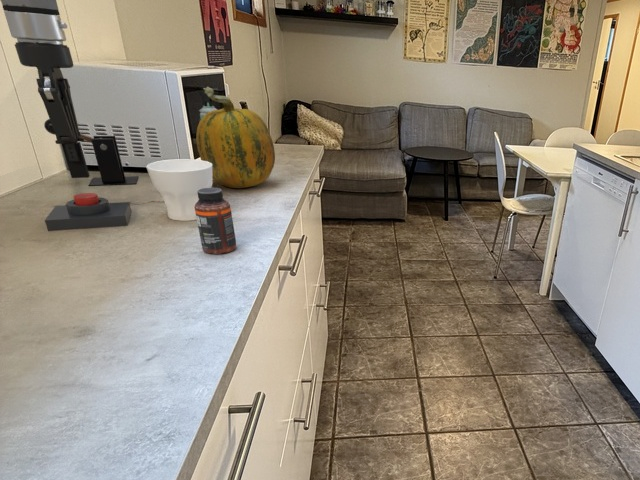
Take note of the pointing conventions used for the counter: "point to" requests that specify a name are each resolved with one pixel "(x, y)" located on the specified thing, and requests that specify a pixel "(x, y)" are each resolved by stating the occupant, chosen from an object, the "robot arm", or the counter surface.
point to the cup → (180, 184)
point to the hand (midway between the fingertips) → (80, 176)
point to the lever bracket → (109, 163)
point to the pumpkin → (235, 144)
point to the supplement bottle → (214, 221)
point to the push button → (86, 199)
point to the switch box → (88, 215)
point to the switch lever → (50, 129)
